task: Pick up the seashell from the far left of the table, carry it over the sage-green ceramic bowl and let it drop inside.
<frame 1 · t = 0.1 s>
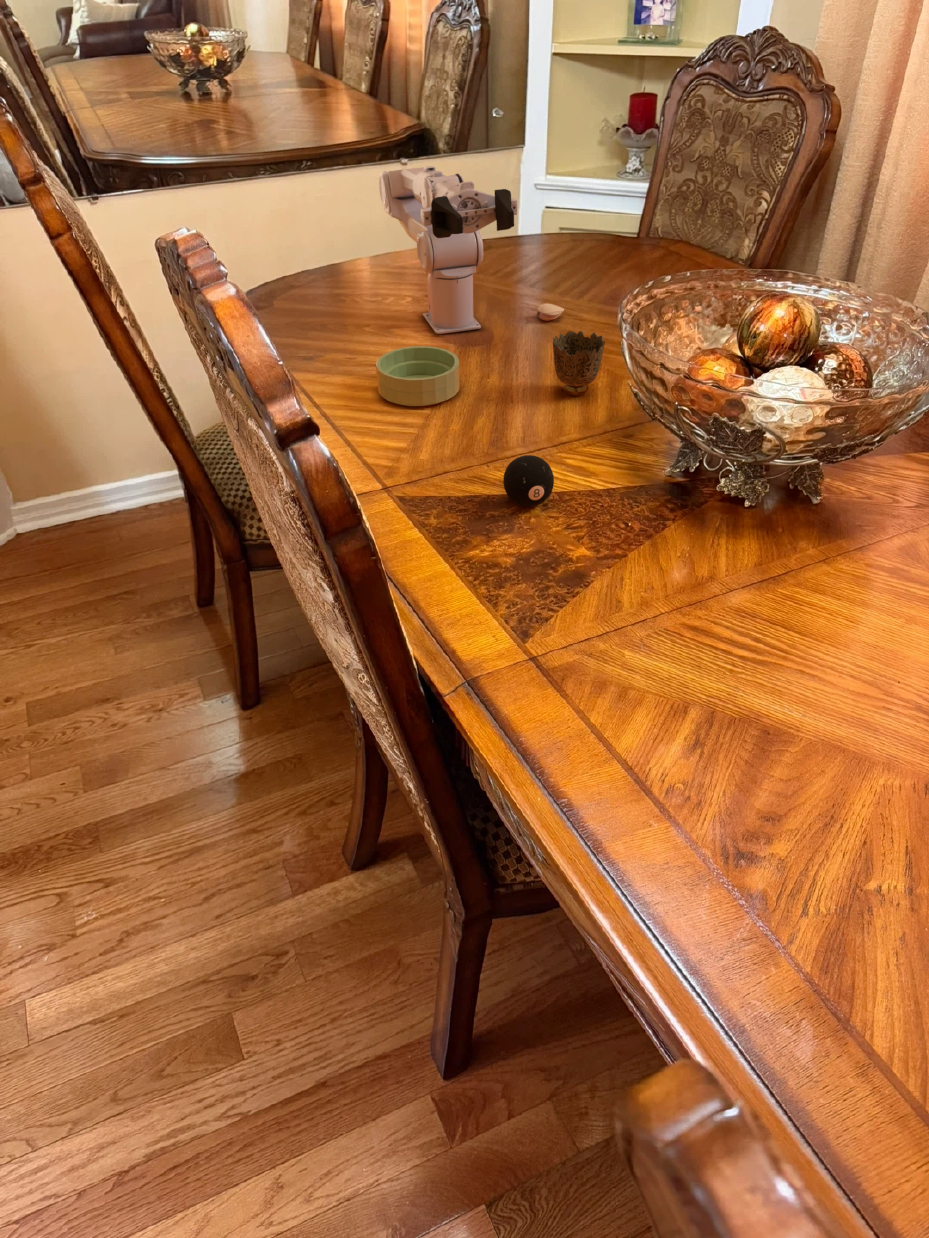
hand: (486, 222, 126), 22 cm above the table, tool horizontal, fingers open, 7 cm apart
cup: (575, 393, 132), on the table
bowl: (419, 390, 134), on the table
seashell: (550, 319, 155), on the table
billiard ball: (527, 503, 109), on the table
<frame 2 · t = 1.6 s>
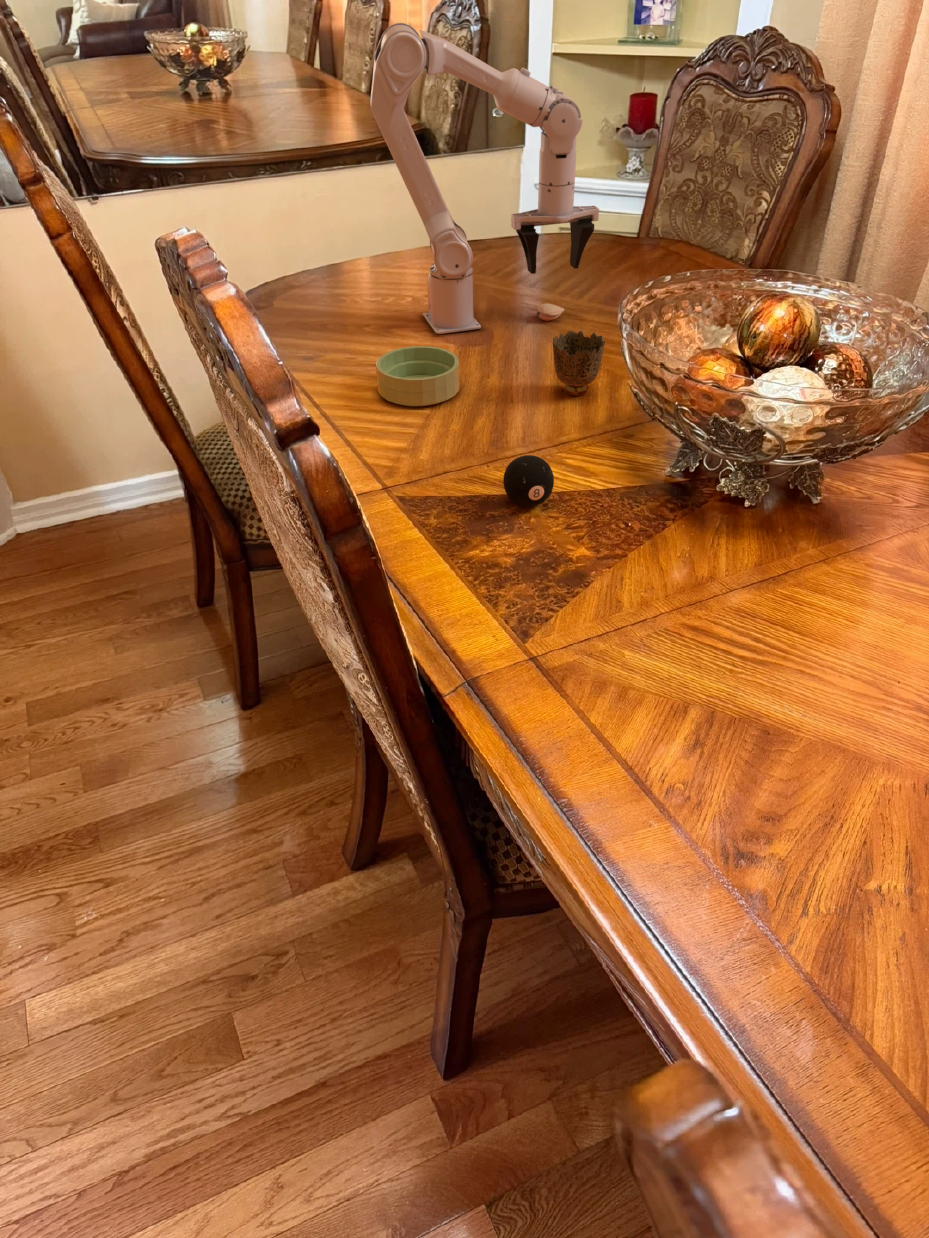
hand: (553, 269, 150), 8 cm above the table, tool pointing down, fingers open, 7 cm apart
nothing on the table moved.
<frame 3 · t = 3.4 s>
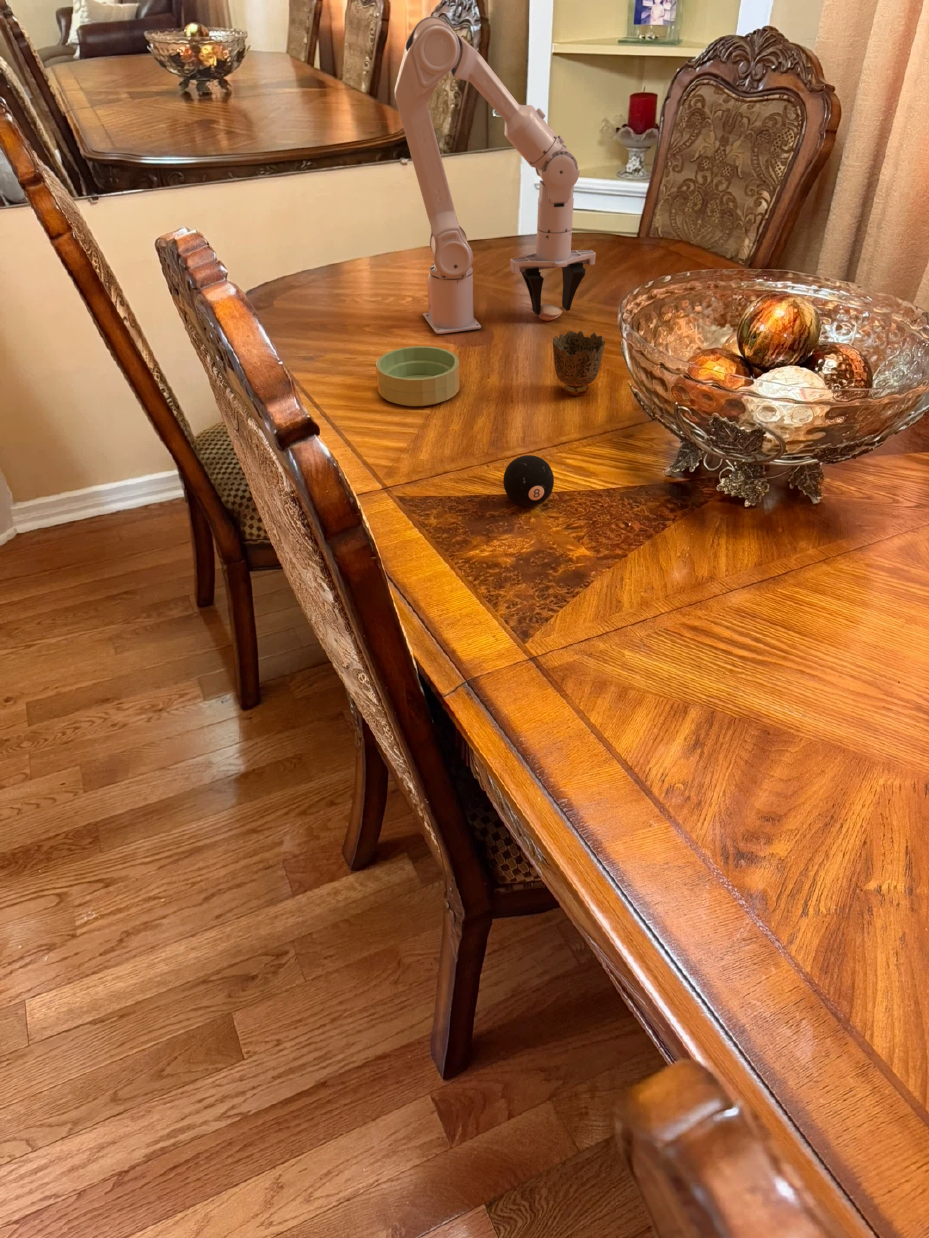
hand: (551, 310, 154), 1 cm above the table, tool pointing down, fingers closed on seashell, 5 cm apart
seashell: (550, 319, 155), on the table, touching gripper
everything else where it was.
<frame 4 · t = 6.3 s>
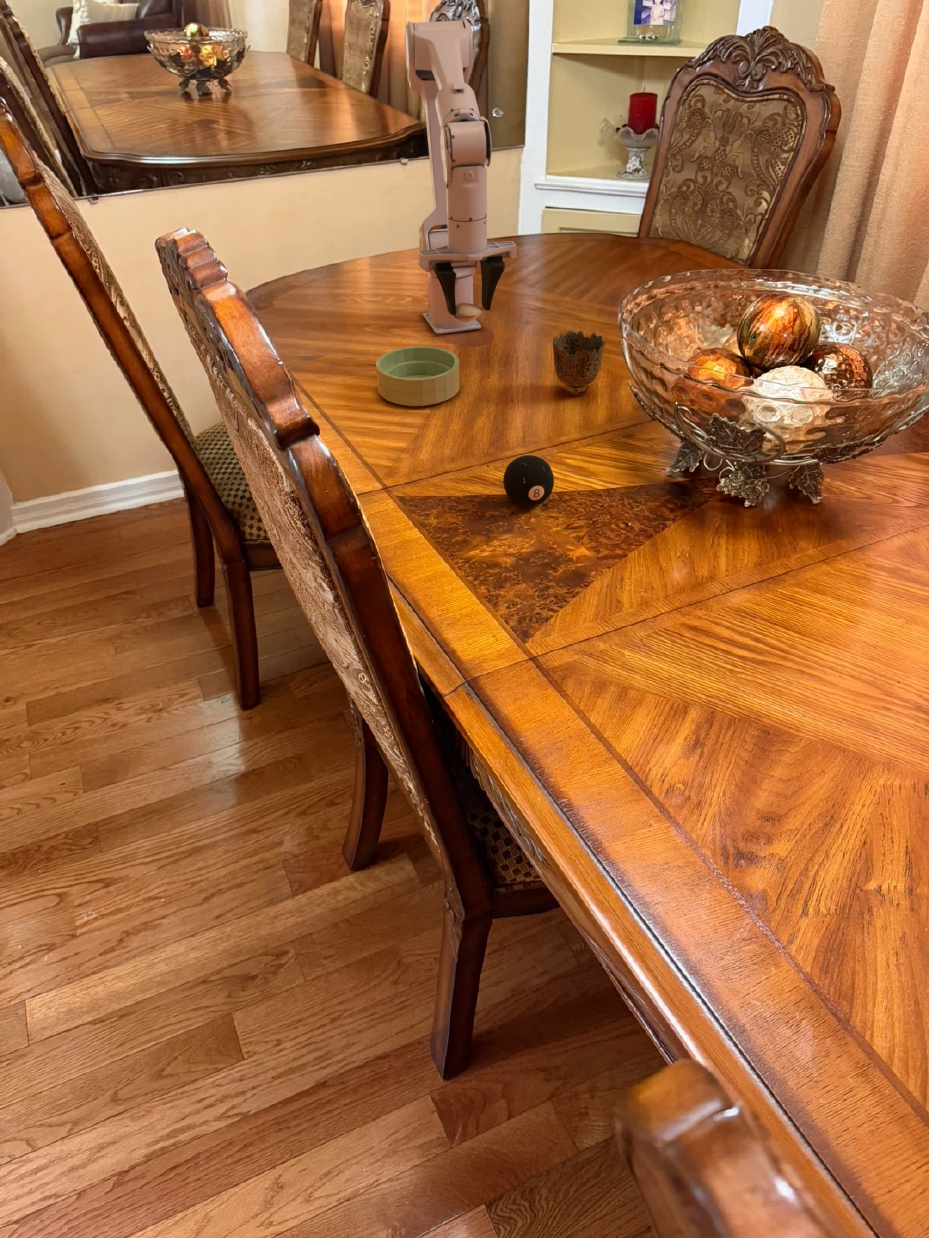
hand: (468, 310, 136), 8 cm above the table, tool pointing down, fingers closed on seashell, 5 cm apart
seashell: (469, 321, 137), point 7 cm above the table, touching gripper
everything else where it was.
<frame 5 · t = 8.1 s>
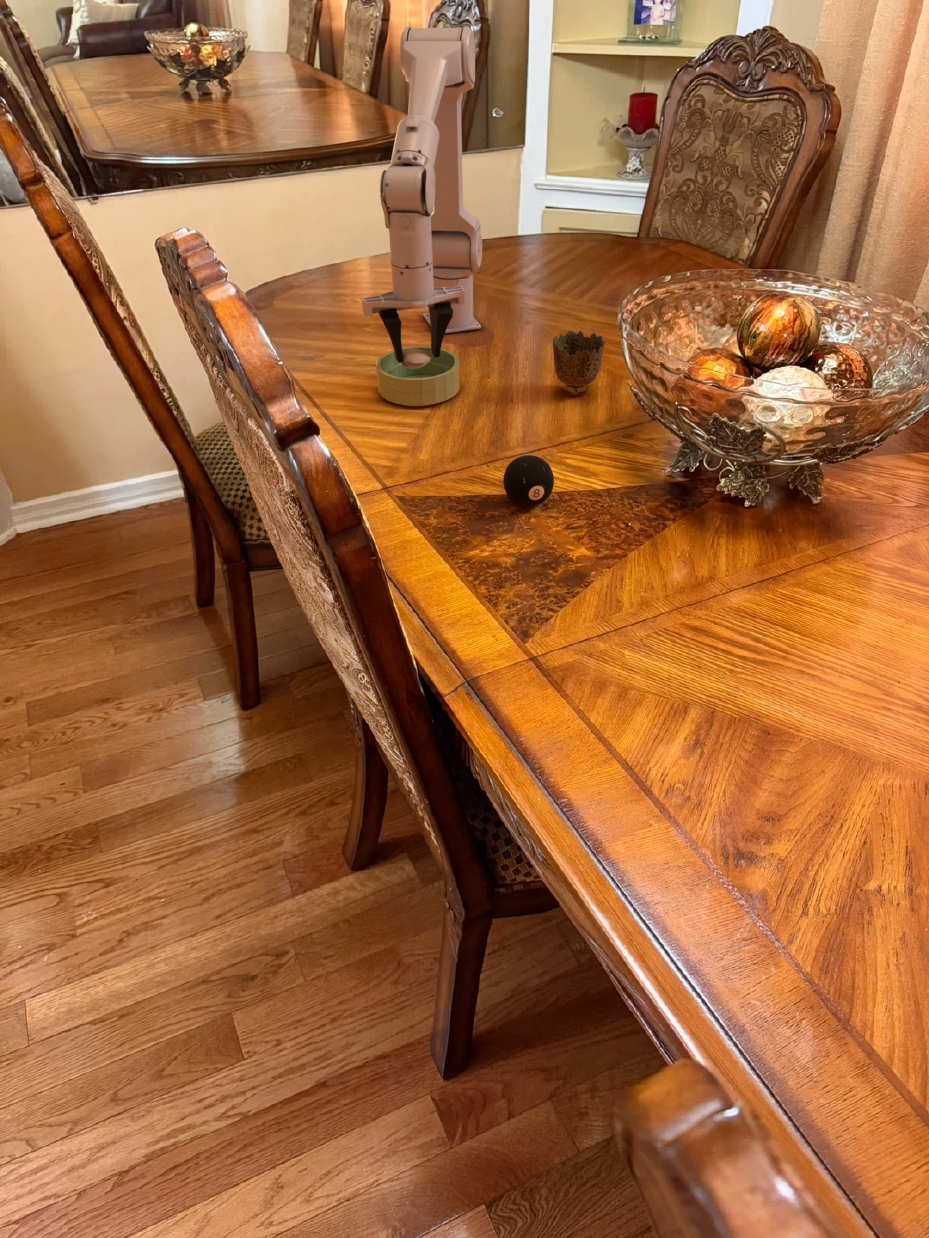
hand: (417, 357, 130), 5 cm above the table, tool pointing down, fingers closed on seashell, 5 cm apart
seashell: (418, 367, 131), point 4 cm above the table, touching gripper
everything else where it was.
when the fingers open (2 cm above the table, at t = 9.5 s): seashell stays where it is, resting on bowl.
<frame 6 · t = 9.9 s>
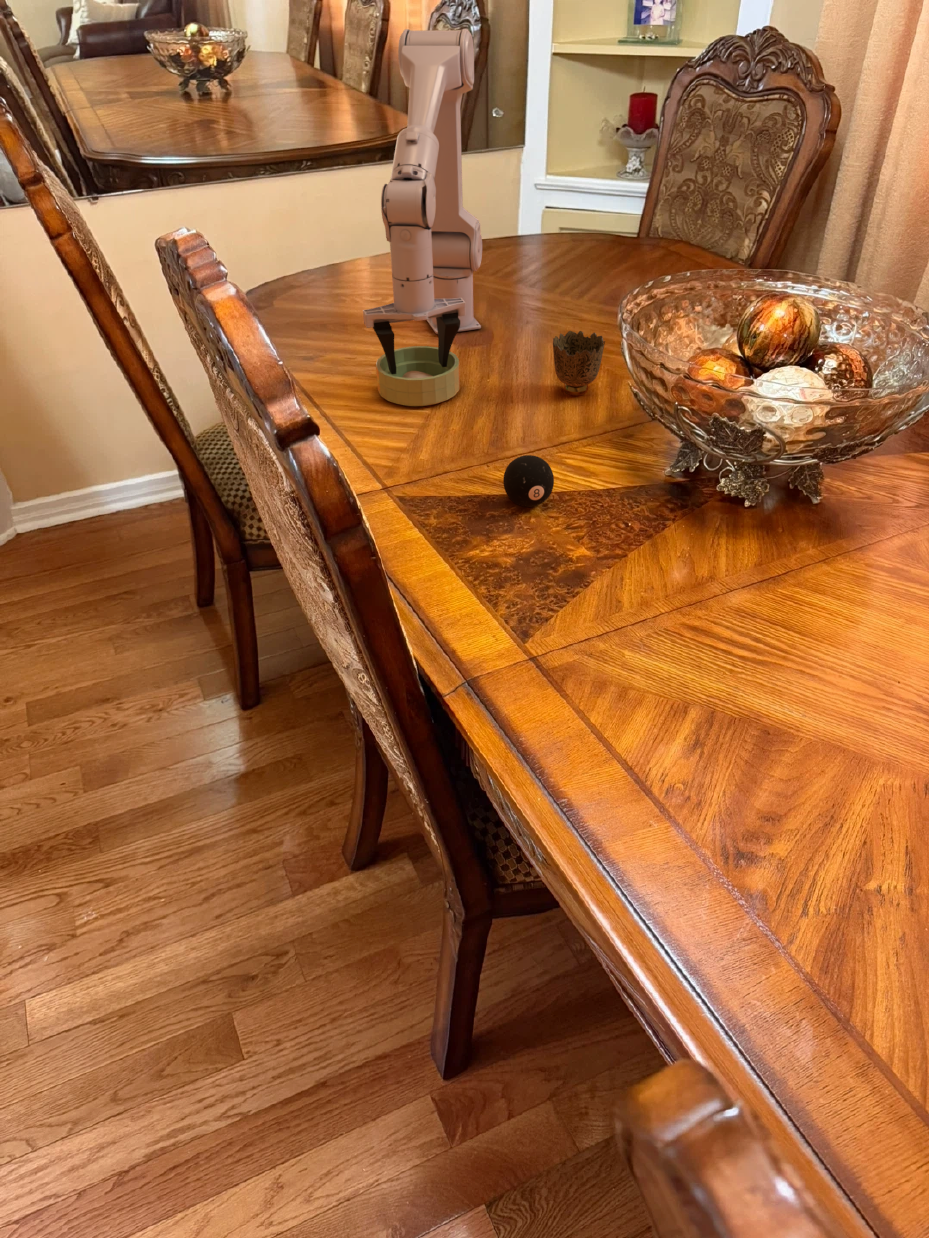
hand: (417, 368, 131), 4 cm above the table, tool pointing down, fingers open, 7 cm apart
seashell: (419, 389, 133), resting on bowl
everything else where it was.
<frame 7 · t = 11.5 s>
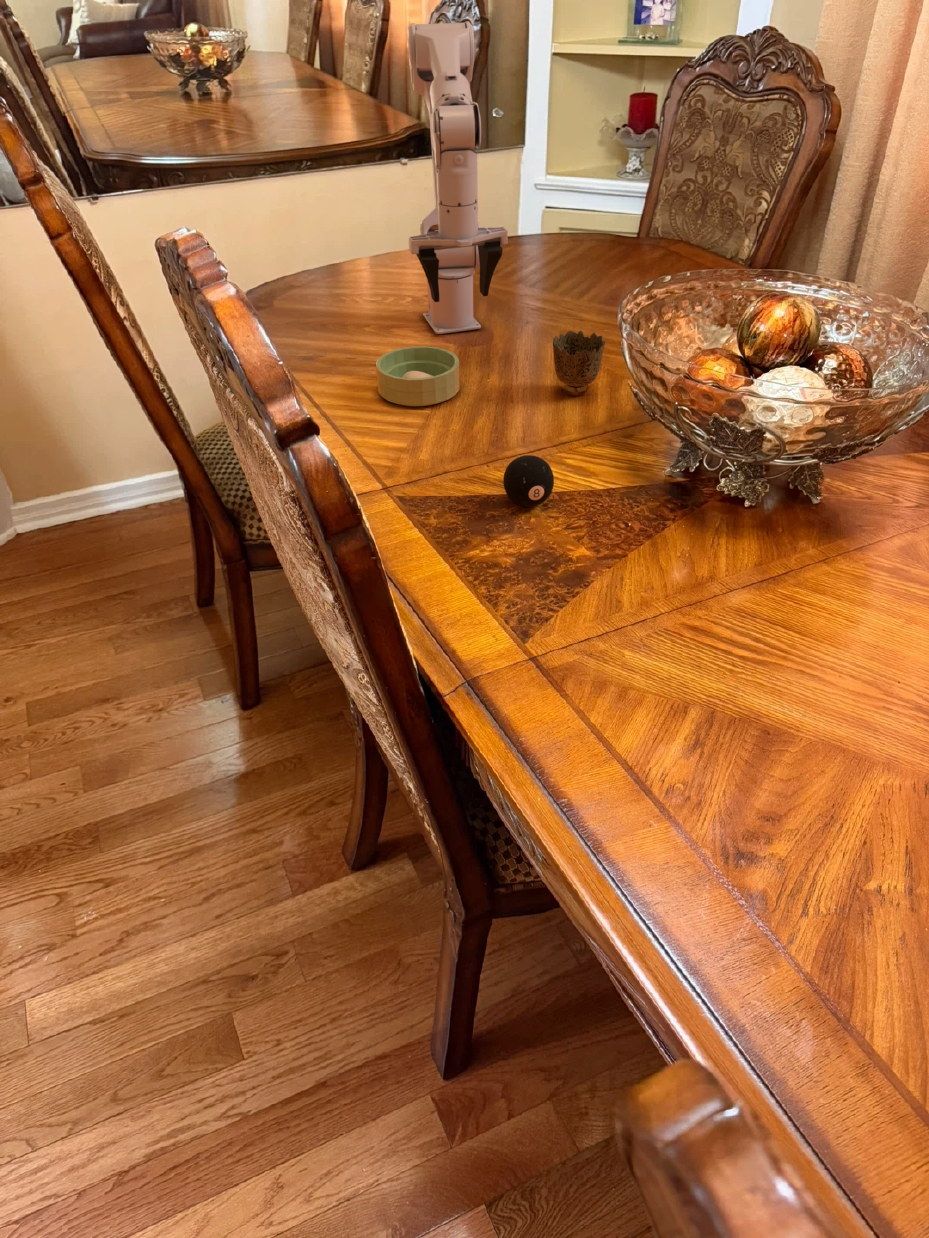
hand: (459, 297, 135), 10 cm above the table, tool pointing down, fingers open, 7 cm apart
nothing on the table moved.
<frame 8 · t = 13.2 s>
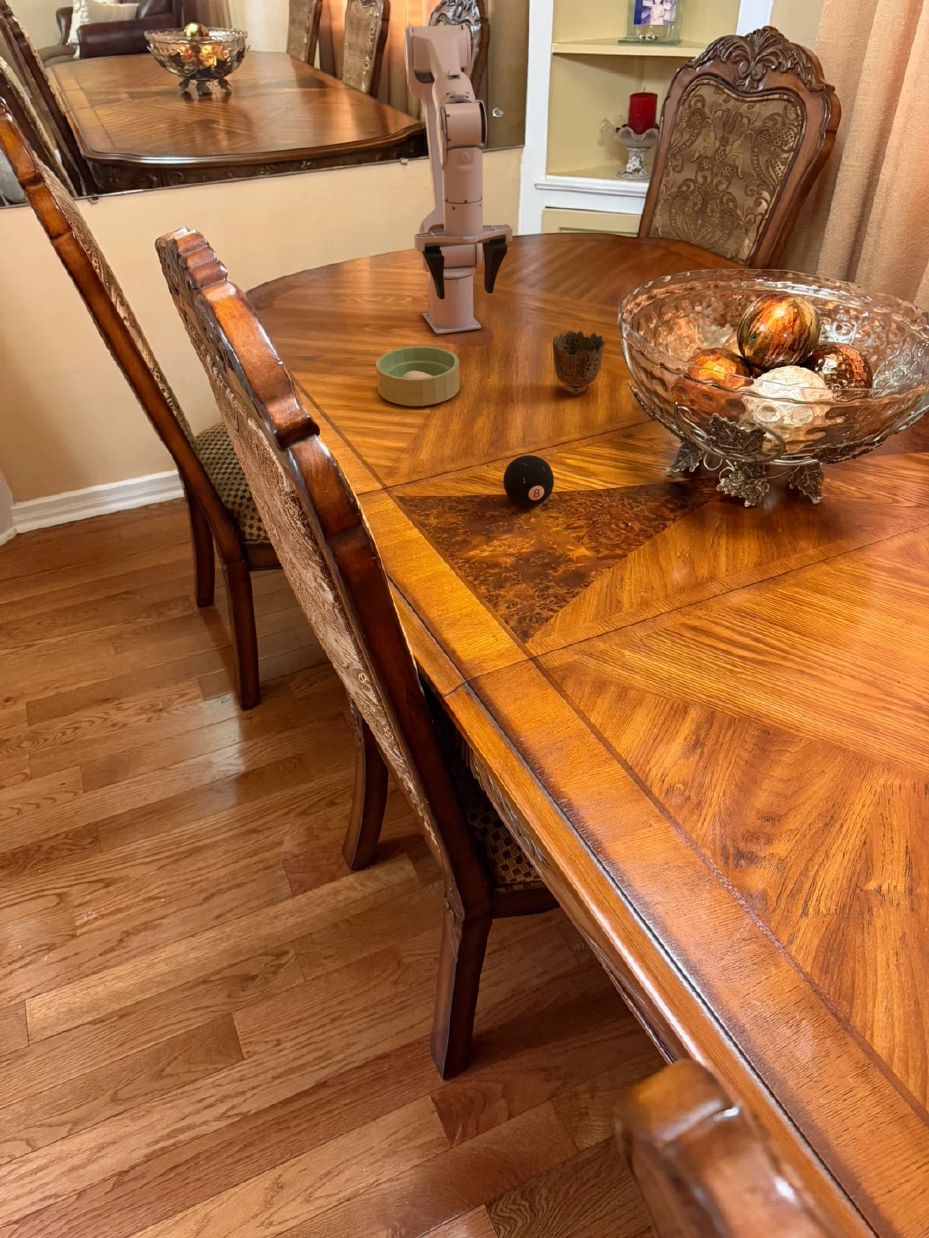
hand: (464, 294, 136), 10 cm above the table, tool pointing down, fingers open, 7 cm apart
nothing on the table moved.
at the end: seashell inside the target area in the bowl (0.1 cm from its centre), point 0.3 cm above the bowl's base; the gripper is holding nothing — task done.
